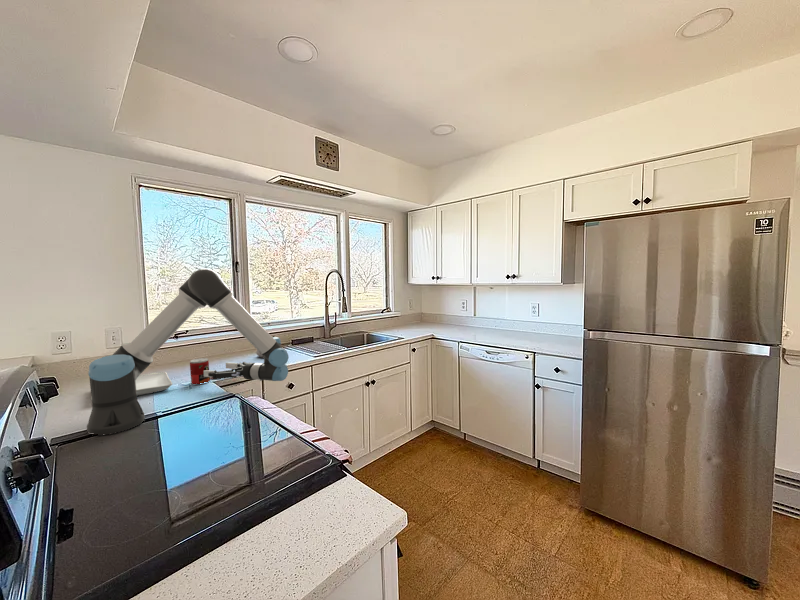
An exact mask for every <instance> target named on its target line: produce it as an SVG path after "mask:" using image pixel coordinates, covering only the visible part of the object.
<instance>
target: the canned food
mask: <svg viewBox="0 0 800 600" xmlns="http://www.w3.org/2000/svg"><path fill="white" fill-rule="evenodd" d="M189 370H190V383H191V385H193V384H200V383H204V382H208V381H209V382H210V381H211V379H210V377H204V370H210V361H209V358H206V357H200V358H193V359H191V360H189ZM209 382H208V383H209ZM200 385H201V384H200Z"/></svg>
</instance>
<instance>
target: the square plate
mask: <svg viewBox="0 0 800 600" xmlns="http://www.w3.org/2000/svg"><path fill="white" fill-rule="evenodd" d="M172 385H173V382H172V380H171V378H169V375H168V373H167V372H166V371H162V372H154V373H147V374H146V373H145V374H140V375H139V377H138V378H137V379H136V395H137V396H138V395H139V396H143V395H148V394H153V392H154V393H157V391H158V392H163V391H166V390H167V389H169V388H170V387H171V386H172ZM90 401H91V402H92V399H91V398H90Z"/></svg>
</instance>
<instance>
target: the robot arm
mask: <svg viewBox="0 0 800 600" xmlns="http://www.w3.org/2000/svg"><path fill="white" fill-rule="evenodd" d="M206 306H208V307H209V308H210V309H215V310H216V311H217V312H218V313H219V314H220V315H221V316H222V317H224V319H226V320H227V322H228V323H229V324H230V325H231V326H233V327H234V328H235V329H236V330H237V331H238V333H239V334H241V335H242V336H243V337H244V339H246V340H247V341H248V342H249V343H250V344H251V345H252V346H253V347H254V348H255V349H256V351H257V350H258V351H259V352H260V353H261V354H262V355H263V356H264V358H263V362H246V361H242V362H225V369H227V370H220V371H217V370H216V369H215V370H210V369H209V370H204V377H213V379H212V380H222V379H221V378H224V379H231V378H238V377H243V378H244V379H245V380H252V381H253V380H255V381H258V380H259V381H260V382H262V381H269V382H271V381H272V382H283V381H284V380H286V379H287V377H288V374H289V368H288V366H287V363H288V362H289V353H288V351H287V350H286V349H285V348H283V346H282V340H281V338H280V337H278V336H276V337H272V335H271V334H270V333H269V332H268V331H267V330H266V329H265V328H264V327H263V326H262V325H261V324H260V322H259V321H257V320H256V319H255V317H253V315H252V314H250V313H249V311H247V309H246V308H245V307H244V306H243V305H242V304H241V302H239V301H238V300H237V299H236V298H235V297H234V296H233V291H232V290H231V289H230V288H229V287H228V286H227V285H226V283H225V282H224V281H223V279H222V277H221V276H220V274H219V273H218V272H217V271H215V270H213V269H209V268H201V269H198V270H195V271H194V272H192V273H191V275H190V276H189V278H188V279H187V280H186V281H185V282H184V283H182V284H181V286H180V287H178V294H177V295H176V297H174V298H173V299H172V300H171V302H169V304H167V306H166V307H164V309H163V310H161V312H159V314H157V316H156V317H155V318H154V319H153V320H151V322H150V323H149V324H148V325H147V326H146V327H145V328H143V330H141V332H140V333H139V334H137V336H136V337H135V338H134V339H133V340H132V341H131V342H128V343H122V344H121V345H120V346H119V348H118V349H117V350H115V352H113V354H111V355H105V356H103V357H100V358H99V357H98V358H97V359H94V360H93V361H91V362H90V364H89V365H88V371H87V372H88V373H87V374H88V376H89V385H90V386H89V387H90V396H91V397H90V400H91V399H92V401H91V407H92V409H91V412H90V416H89V419H88V422H87V424H86V432H87V431H88V432H90V433H94V434H98V435H101V436H104V435H103V434H109V435H111V434H110V433H114V434H116V433H115V432H118V433H121V432H120V431H122V432H125V431H128V430H131V429H133V428H132V427H134V428H135V426H136V427H138V426H140V425H142V422H143V421H144V422H145V420H146V418H145V417H146V415H145V412H144V410H143V408H142V407H141V404H140V403H139V401H138V397H137V395H136V379H137V378H138V377H139V375H142V374H143V372H144V371H145V370H146V369H147V368H148V367H149V366H150V365H151V364H152V363H153V361H154V359H153V356H154V355H155V354H156V353H157V352H158V350H159V349H160V348H161V347H163V345H164V344H166V342H167V341H168V340H169V339H170V338H171V337H172V336H173V335H174V334H175V333H176V332H177V331H178V330H179V329H180V328H181V327H182V325H184V323H185V322H187V320H188V319H189V318H190V317H192V315H193V314H195V312H196V311H197V310H198V309H199V308H205V307H206ZM144 419H145V420H144ZM144 422H143V423H144ZM139 424H140V425H139ZM137 425H138V426H137ZM130 428H131V429H130ZM127 429H128V430H127ZM124 430H125V431H124Z"/></svg>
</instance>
